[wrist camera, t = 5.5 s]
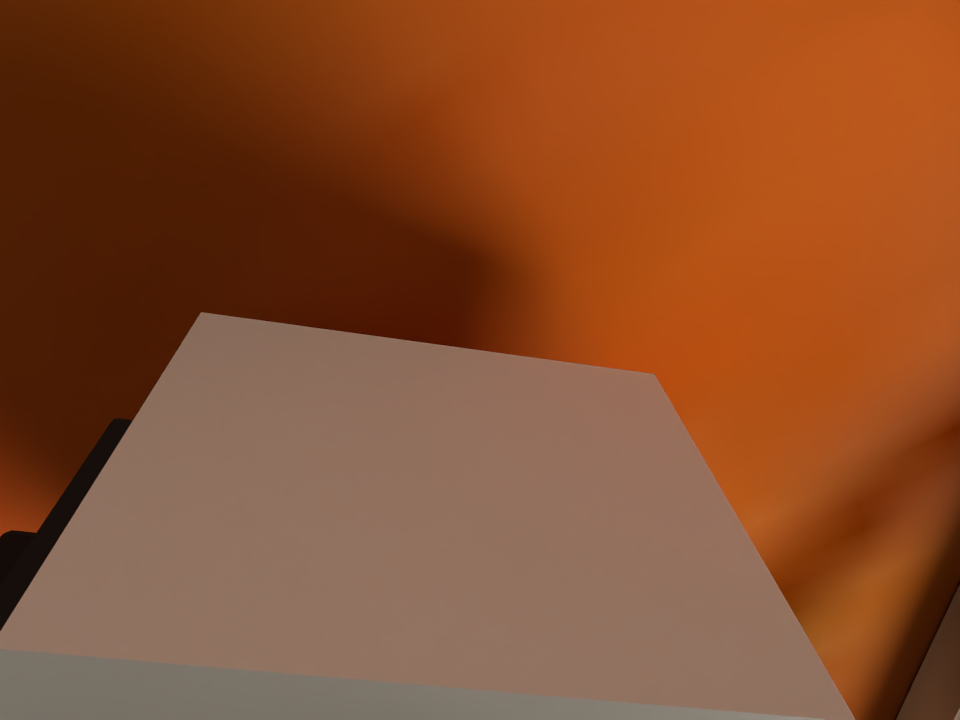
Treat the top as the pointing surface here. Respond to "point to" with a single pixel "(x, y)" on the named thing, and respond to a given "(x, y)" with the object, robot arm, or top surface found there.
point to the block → (404, 550)
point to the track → (938, 674)
